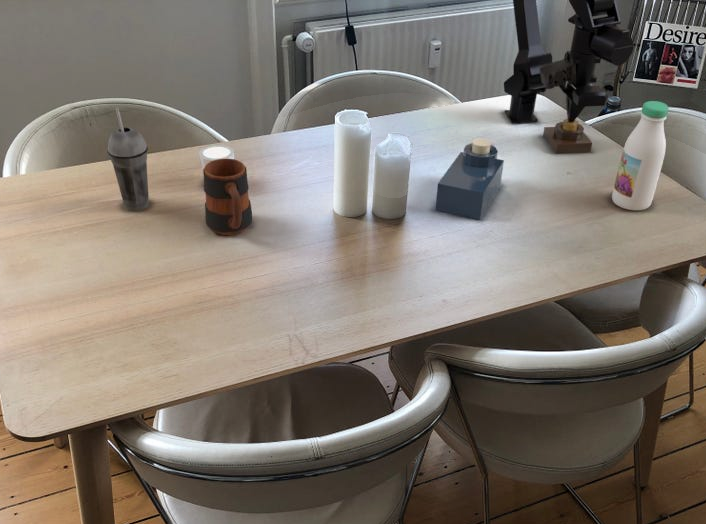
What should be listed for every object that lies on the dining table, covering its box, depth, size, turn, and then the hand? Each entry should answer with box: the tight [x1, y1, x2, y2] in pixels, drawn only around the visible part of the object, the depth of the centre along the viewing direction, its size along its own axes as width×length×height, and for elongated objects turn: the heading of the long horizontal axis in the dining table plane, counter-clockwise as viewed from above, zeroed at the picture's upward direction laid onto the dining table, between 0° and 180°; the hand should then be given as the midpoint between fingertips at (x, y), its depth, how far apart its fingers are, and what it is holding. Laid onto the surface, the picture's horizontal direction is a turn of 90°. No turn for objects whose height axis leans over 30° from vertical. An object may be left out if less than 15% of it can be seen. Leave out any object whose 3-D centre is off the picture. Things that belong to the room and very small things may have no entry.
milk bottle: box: [611, 100, 670, 211], centre depth 159 cm, size 8×8×20 cm
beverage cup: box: [107, 107, 150, 212], centre depth 154 cm, size 7×7×20 cm
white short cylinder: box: [471, 137, 492, 155], centre depth 164 cm, size 4×4×2 cm
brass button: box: [562, 118, 579, 131], centre depth 183 cm, size 3×3×2 cm
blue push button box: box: [434, 142, 505, 221], centre depth 163 cm, size 16×9×8 cm, turn 157°
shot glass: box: [198, 144, 235, 170], centre depth 166 cm, size 7×7×7 cm
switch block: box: [542, 121, 593, 155], centre depth 184 cm, size 9×8×4 cm
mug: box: [202, 158, 253, 236], centre depth 151 cm, size 9×12×12 cm
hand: (570, 121), depth 182 cm, fingers closed, pressing on brass button
